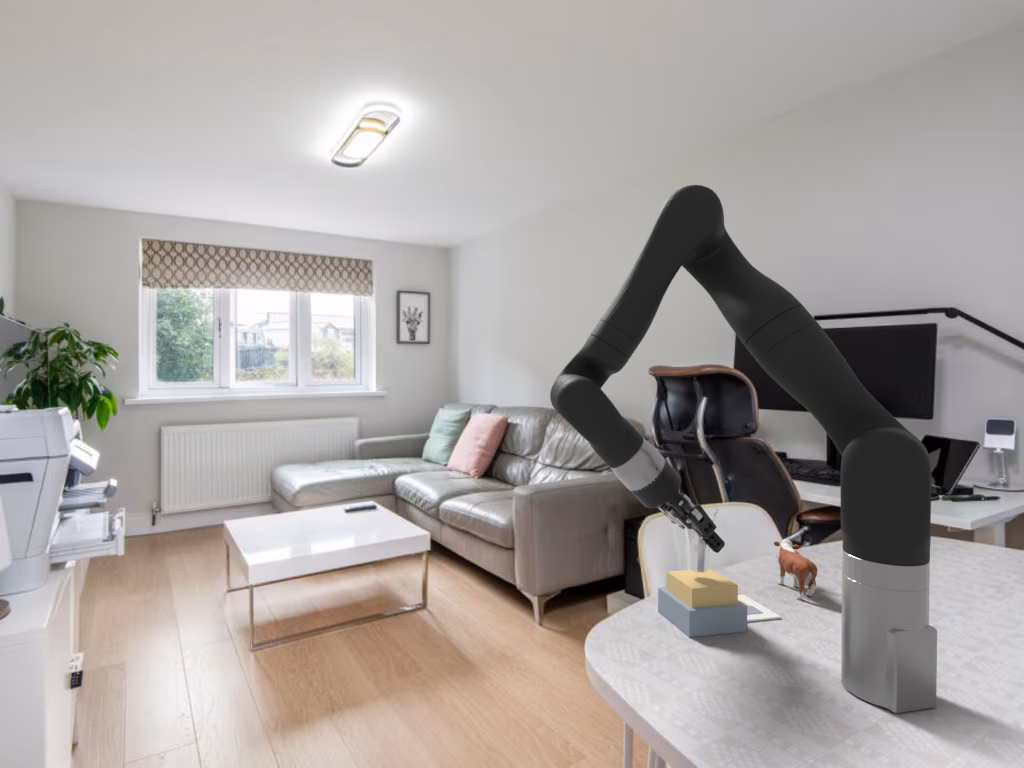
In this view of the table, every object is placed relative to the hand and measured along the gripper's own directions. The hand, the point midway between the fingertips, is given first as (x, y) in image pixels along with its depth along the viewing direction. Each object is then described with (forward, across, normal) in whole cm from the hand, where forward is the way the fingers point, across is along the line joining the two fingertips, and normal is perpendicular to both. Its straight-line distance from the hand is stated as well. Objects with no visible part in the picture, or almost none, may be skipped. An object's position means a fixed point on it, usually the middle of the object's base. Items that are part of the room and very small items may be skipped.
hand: (711, 543), depth 94 cm
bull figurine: (+25, +9, -8) cm, 28 cm away
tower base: (+8, 0, +10) cm, 13 cm away
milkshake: (+2, 0, +4) cm, 5 cm away
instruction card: (+15, +3, +3) cm, 15 cm away
